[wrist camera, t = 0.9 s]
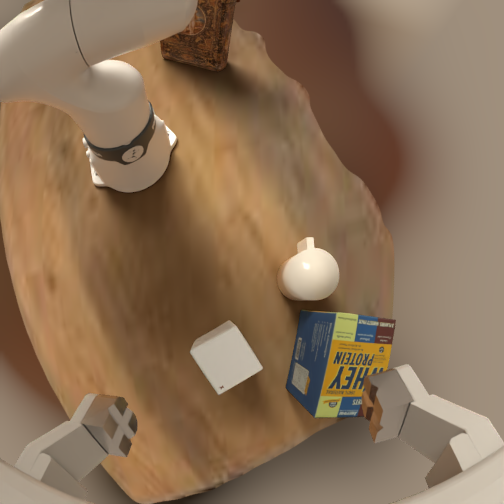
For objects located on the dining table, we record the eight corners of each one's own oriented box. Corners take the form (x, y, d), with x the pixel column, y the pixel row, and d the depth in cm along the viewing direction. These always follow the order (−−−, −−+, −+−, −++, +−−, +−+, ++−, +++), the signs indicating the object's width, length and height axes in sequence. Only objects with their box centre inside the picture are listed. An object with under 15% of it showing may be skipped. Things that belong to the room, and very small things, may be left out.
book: (229, 60, 58) (243, -20, 34) (220, 73, 57) (231, -12, 33) (173, 46, 57) (170, -29, 33) (162, 58, 56) (155, -21, 31)
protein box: (349, 316, 52) (397, 318, 37) (334, 391, 49) (376, 417, 33) (299, 308, 50) (336, 310, 35) (284, 389, 47) (313, 420, 32)
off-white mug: (319, 299, 51) (340, 298, 42) (277, 301, 50) (292, 301, 41) (316, 246, 53) (336, 235, 44) (275, 246, 52) (288, 235, 43)
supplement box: (251, 353, 48) (265, 370, 35) (215, 374, 46) (217, 397, 34) (229, 318, 48) (237, 324, 36) (193, 339, 47) (188, 351, 34)
